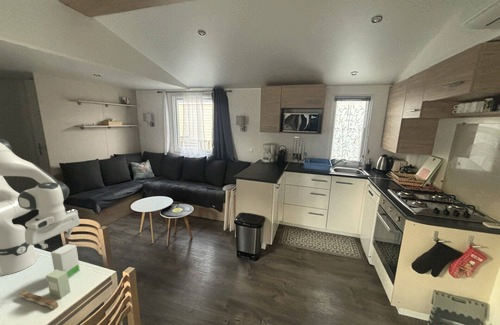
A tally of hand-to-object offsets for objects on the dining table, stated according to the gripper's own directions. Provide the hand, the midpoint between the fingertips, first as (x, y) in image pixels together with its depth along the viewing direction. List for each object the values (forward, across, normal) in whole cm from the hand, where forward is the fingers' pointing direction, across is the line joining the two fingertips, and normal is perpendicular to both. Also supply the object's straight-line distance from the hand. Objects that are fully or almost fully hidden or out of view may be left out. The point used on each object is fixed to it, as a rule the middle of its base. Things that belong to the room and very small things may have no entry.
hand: (57, 242), depth 98 cm
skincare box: (+24, -5, -4) cm, 25 cm away
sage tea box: (+23, +5, +6) cm, 24 cm away
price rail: (+23, +11, +2) cm, 26 cm away
